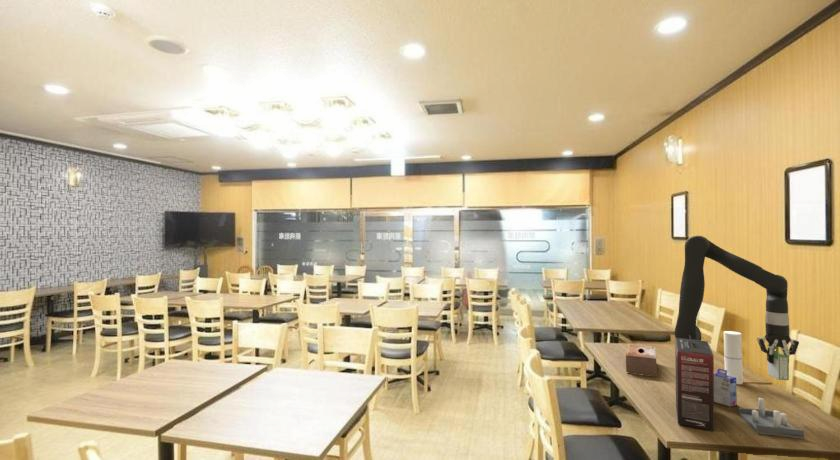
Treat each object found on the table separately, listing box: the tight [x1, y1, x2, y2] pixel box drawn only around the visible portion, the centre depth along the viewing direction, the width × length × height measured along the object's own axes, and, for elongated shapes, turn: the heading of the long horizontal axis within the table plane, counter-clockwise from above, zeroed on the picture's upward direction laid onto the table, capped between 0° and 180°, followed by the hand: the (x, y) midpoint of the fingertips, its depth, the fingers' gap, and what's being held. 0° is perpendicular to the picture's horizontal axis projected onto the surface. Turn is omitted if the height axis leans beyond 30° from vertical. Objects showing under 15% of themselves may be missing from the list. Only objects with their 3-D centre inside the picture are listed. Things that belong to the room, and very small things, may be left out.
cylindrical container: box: [723, 330, 744, 385], centre depth 206 cm, size 7×7×25 cm
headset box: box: [674, 335, 715, 432], centre depth 168 cm, size 24×13×33 cm, turn 149°
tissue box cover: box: [625, 343, 658, 378], centre depth 229 cm, size 26×14×10 cm, turn 150°
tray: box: [738, 397, 805, 440], centre depth 158 cm, size 14×17×8 cm
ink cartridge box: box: [714, 368, 738, 408], centre depth 181 cm, size 10×6×14 cm, turn 27°
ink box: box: [766, 342, 790, 381], centre depth 169 cm, size 7×4×13 cm, turn 169°
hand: (778, 363), depth 169 cm, fingers closed on ink box, 4 cm apart
